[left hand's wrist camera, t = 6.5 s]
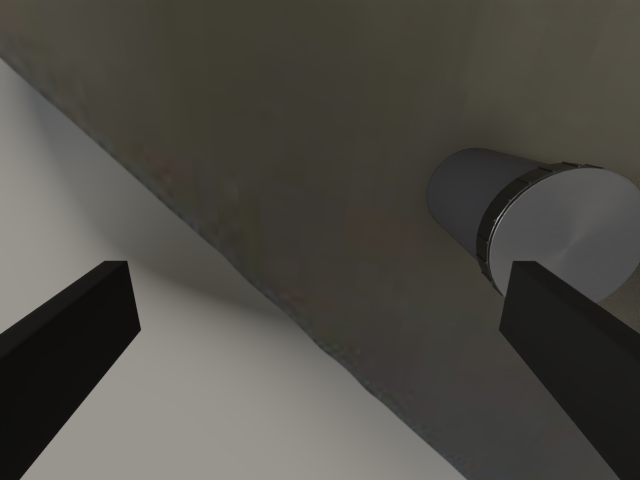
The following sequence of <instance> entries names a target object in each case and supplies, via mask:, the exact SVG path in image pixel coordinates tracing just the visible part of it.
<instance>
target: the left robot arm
mask: <svg viewBox="0 0 640 480" xmlns="http://www.w3.org/2000/svg"><path fill="white" fill-rule="evenodd" d="M140 331H141V327H140V322H139V317H138V313H137V307H136V303H135V297H134V293H133V287H132V283H131V278H130V273H129V268H128V263H127V261H104V262H102V263H101V264H100V265H98V266H97V267H95V268H94V269H92V270H91V271H89V272H88V273H87V274H85V275H84V276H82V277H81V278H80V279H78V280H77V281H75V282H74V283H72V284H71V285H70V286H68V287H67V288H65V289H64V290H62V291H61V292H60V293H58V294H57V295H55V296H54V297H52V298H51V299H50V300H48V301H47V302H45V303H44V304H43V305H41V306H40V307H38V308H37V309H35V310H34V311H33V312H31V313H30V314H28V315H27V316H25V317H24V318H23V319H21V320H20V321H18V322H17V323H15V324H14V325H13V326H11V327H10V328H8V329H7V330H6V331H4V332H3V333H1V334H0V480H20V478H21V477H22V476H23V475H24V474H25V472H26V471H27V470H28V469H29V467H30V466H31V465H32V464H33V462H34V461H35V460H36V459H37V458H38V456H39V455H40V454H41V453H42V451H43V450H44V449H45V448H46V446H47V445H48V444H49V443H50V442H51V440H52V439H53V438H54V437H55V435H56V434H57V433H58V432H59V430H60V429H61V428H62V427H63V425H64V424H65V423H66V422H67V421H68V419H69V418H70V417H71V416H72V414H73V413H74V412H75V411H76V409H77V408H78V407H79V406H80V404H81V403H82V402H83V401H84V400H85V398H86V397H87V396H88V395H89V393H90V392H91V391H92V390H93V388H94V387H95V386H96V385H97V384H98V382H99V381H100V380H101V379H102V377H103V376H104V375H105V374H106V372H107V371H108V370H109V369H110V368H111V366H112V365H113V364H114V363H115V361H116V360H117V359H118V358H119V356H120V355H121V354H122V353H123V352H124V350H125V349H126V348H127V347H128V345H129V344H130V343H131V342H132V340H133V339H134V338H135V337H136V335H137V334H138V333H139V332H140ZM499 331H500V332H501V333H502V334H503V336H504V337H505V338H506V339H507V340H508V342H509V343H510V344H511V345H512V347H513V348H514V349H515V350H516V352H517V353H518V354H519V355H520V356H521V358H522V359H523V360H524V361H525V363H526V364H527V365H528V366H529V368H530V369H531V370H532V371H533V373H534V374H535V375H536V376H537V377H538V379H539V380H540V381H541V382H542V384H543V385H544V386H545V387H546V389H547V390H548V391H549V392H550V393H551V395H552V396H553V397H554V398H555V400H556V401H557V402H558V403H559V405H560V406H561V407H562V408H563V409H564V411H565V412H566V413H567V414H568V416H569V417H570V418H571V419H572V421H573V422H574V423H575V424H576V425H577V427H578V428H579V429H580V430H581V432H582V433H583V434H584V435H585V437H586V438H587V439H588V440H589V442H590V443H591V444H592V445H593V446H594V448H595V449H596V450H597V451H598V453H599V454H600V455H601V456H602V458H603V459H604V460H605V461H606V462H607V464H608V465H609V466H610V467H611V469H612V470H613V471H614V472H615V474H616V475H617V476H618V477H619V478H620V480H640V334H639V333H637V332H636V331H634V330H633V329H632V328H630V327H629V326H627V325H626V324H625V323H623V322H622V321H620V320H619V319H617V318H616V317H615V316H613V315H612V314H610V313H609V312H607V311H606V310H605V309H603V308H602V307H600V306H599V305H597V304H596V303H595V302H593V301H592V300H590V299H589V298H588V297H586V296H585V295H583V294H582V293H580V292H579V291H578V290H576V289H575V288H573V287H572V286H570V285H569V284H568V283H566V282H565V281H563V280H562V279H561V278H559V277H558V276H556V275H555V274H553V273H552V272H551V271H549V270H548V269H546V268H545V267H543V266H542V265H541V264H539V263H538V262H536V261H513V263H512V268H511V273H510V278H509V282H508V287H507V292H506V297H505V302H504V307H503V312H502V317H501V322H500V327H499Z"/></svg>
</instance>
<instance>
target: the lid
mask: <svg viewBox="0 0 640 480" xmlns="http://www.w3.org/2000/svg"><path fill="white" fill-rule="evenodd" d="M476 235H477V237H476V253H477V254H476V256H477V258H478V263H479V265H480V268H481V270H482V273H483V274H484V275H485V277H486V278H487V279H488V280H489V281H490V283H491V284H492V285H493V287H494V288H495V289H496V290H497V291H498V292H499V293H500V294H501V295H502V296H503V297H506V292H507V287H508V282H509V278H510V273H511V268H512V263H513V261H536V262H538V263H539V264H541V265H542V266H543V267H545V268H546V269H548V270H549V271H551V272H552V273H553V274H555V275H556V276H558V277H559V278H561V279H562V280H563V281H565V282H566V283H568V284H569V285H570V286H572V287H573V288H575V289H576V290H578V291H579V292H580V293H582V294H583V295H585V296H586V297H588V298H589V299H590V300H592V301H593V302H595V303H598V302H599V301H601V300H603V299H604V298H606V297H608V296H609V295H611V294H612V293H613V292H614V291H616V290H617V289H618V288H619V287H620V286H621V285H622V284H623V283H624V282H625V281H626V280H627V279H628V278H629V277H630V276H631V274H632V273H633V272H634V271H635V269H636V268H637V266H638V265H639V263H640V190H639V189H638V188H637V187H636V186H635V185H634V184H633V183H632V182H631V181H629V180H628V179H627V178H625V177H623V176H621V175H619V174H618V173H615V172H612V171H609V170H605V168H602V167H597V166H592V165H587V164H585V165H581V164H575V163H567V162H562V163H556V164H550V165H545V166H542V167H541V166H539V167H538V168H536V169H533V170H531V171H529V172H527V173H525V174H523V175H521V176H519V177H517V178H516V179H515V180H513V181H512V182H511V183H509V184H508V185H507V186H506V187H504V188H503V189H502V190H501V191H500V192H499V193H498V194H497V196H496V197H495V198H494V199H493V200H492V202H491V203H490V205H489V206H488V208H487V209H486V211H485V213H484V215H483V217H482V219H481V222H480V225H479V228H478V232H477V234H476Z"/></svg>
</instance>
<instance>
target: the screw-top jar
mask: <svg viewBox="0 0 640 480" xmlns="http://www.w3.org/2000/svg"><path fill="white" fill-rule="evenodd" d="M545 165H549V164H545V163H541V162H537V161H533V160H528V159H524V158H520V157H516V156H512V155H508V154H503V153H499V152H495V151H491V150H487V149H481V148H472V149H466V150H462V151H460V152H457V153H455V154H453V155H451V156H450V157H448V158H447V159H446V160H444V161H443V162H442V163H441V164H440V165H439V166H438V168H437V169H436V170H435V172H434V173H433V175H432V177H431V179H430V182H429V185H428V190H427V203H428V207H429V210H430V213H431V215H432V216H433V218H434V219H435V220H436V221H437V223H438V224H440V225H441V226H442V227H443V228H444V229H445V230H446V231H447V232H448V233H449V234H450V235H451V236H452V237H453V238H454V239H455V240H456V241H457V242H458V243H459V244H460V245H461V246H462V247H463V248H464V249H465V250H467V251H468V252H469V253H470V254H471V255H472V256H473V257H474V258H475V259H476V260H477V261H478V258H477V256H476V254H477V253H476V237H477V235H476V234H477V232H478V228H479V225H480V222H481V219H482V217H483V215H484V213H485V211H486V209H487V208H488V206H489V205H490V203H491V202H492V200H493V199H494V198H495V197H496V196H497V194H498V193H499V192H500V191H501V190H502V189H503V188H504V187H506V186H507V185H508V184H509V183H511V182H512V181H513V180H515V179H516V178H517V177H519V176H521V175H523V174H525V173H527V172H529V171H531V170H533V169H536V168H538V167H539V166H541V167H542V166H545Z"/></svg>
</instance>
